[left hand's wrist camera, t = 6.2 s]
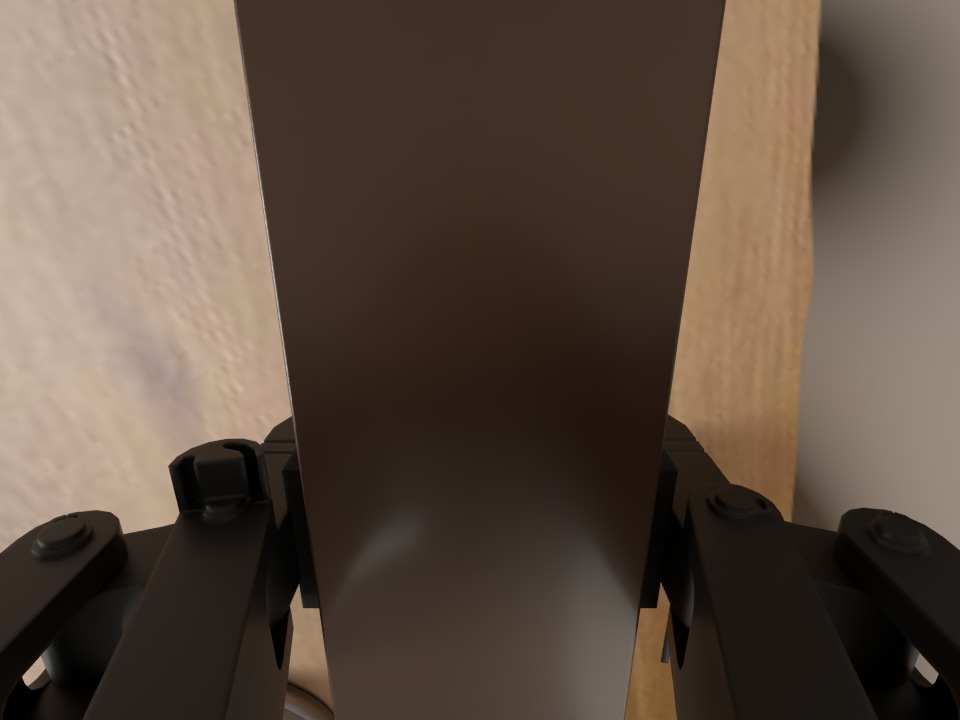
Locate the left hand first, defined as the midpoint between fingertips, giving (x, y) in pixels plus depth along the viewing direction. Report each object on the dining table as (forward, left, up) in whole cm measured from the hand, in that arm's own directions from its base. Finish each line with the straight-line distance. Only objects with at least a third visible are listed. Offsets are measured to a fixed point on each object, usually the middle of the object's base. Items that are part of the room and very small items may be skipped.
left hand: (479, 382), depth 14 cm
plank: (+9, 0, 0) cm, 9 cm away
